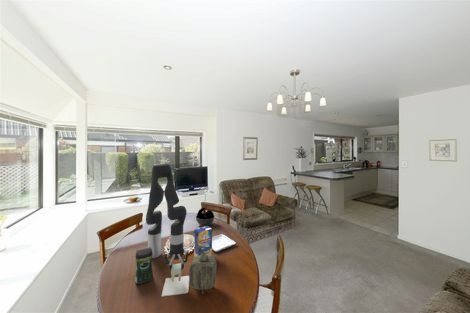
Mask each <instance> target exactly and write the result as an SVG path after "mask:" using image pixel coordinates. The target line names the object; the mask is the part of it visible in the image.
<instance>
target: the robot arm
mask: <svg viewBox="0 0 470 313" xmlns="http://www.w3.org/2000/svg"><path fill="white" fill-rule="evenodd" d="M173 176H174V175H173V172H172V168H171V165H170V164H169V163H155V164H153V166H152V168H151V181H150V191H149V194H148V195H149V196H148V206H147V209H146V210H147V211H146V214H145V224H146V225H148V226H151V225H153V226H151V227H150V228H149V229H148V230H147V248H149V247H151V248H152V252H153V256H152V259H156V258H159V257H160V256H161V255H162V224H163V223H162V222H163V214H162V211H161V210H156V209H157V208H158V207H159V206H160V205H161V204H162V202H163V201H164V198H165V201H166V205H167V206H166V207H167V211H166V212H167V218H168V219H169V220H170V221H174V222H173V223H172V224H171V223H170V236H169V251H168V252H164V261H165V265H168V266H169V267H168V268H169V271H170V272H171V268H172V264H173V261H174V260H179V261H180V263H181V270H182V271H183V270H184V268H185V263H187V262H188V259H189V258H188V257H189V253H190V250H185V249H184V248H185V246H184V244H185V242H184V239H185V238H184V237H185V236H184V224H185V221H186V217H187V209H186V207H185V206H184V205H179V206H175V205H177V204H178V203H179V202H180V199H179V196H178V193H177V190H176V186H175V183H174V177H173ZM161 178H166V181H167V182H166V184H165V187H164V189H163V187H162V186H161V184H160V183H159V179H161ZM183 255H184V256H185V258H184V256H183ZM169 256H170V260H169Z"/></svg>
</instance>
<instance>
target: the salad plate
mask: <svg viewBox="0 0 470 313" xmlns="http://www.w3.org/2000/svg"><path fill="white" fill-rule="evenodd" d="M234 245H236V241H234V240H233V239H231V238H229V237H228V236H226V235H225V234H223V233H221V234H218V235H215V236H212V251H214V253H215V252H216V253H217V252H220V251H222V250H225V249H227V248H230V247H232V246H234Z"/></svg>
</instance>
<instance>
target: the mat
mask: <svg viewBox="0 0 470 313" xmlns="http://www.w3.org/2000/svg"><path fill="white" fill-rule="evenodd" d="M189 287H190V282H189V275H184V276H182V275H181V281H178V276H175V277H174V282H171V277H166V278H165V282H164V284H163V289H162V292H161V297H163V298H164V297H168V296H170V297H171V296H176V295H183V294H189Z"/></svg>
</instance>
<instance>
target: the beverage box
mask: <svg viewBox="0 0 470 313" xmlns="http://www.w3.org/2000/svg"><path fill="white" fill-rule="evenodd" d="M212 237H213V228H212V227H210V225H208V226H201V227H198V228H195V229H194V242H193V243H194V244H193V245H194V250H193V251H194V253H193V254H194V256H193V258H194V257H195V256H199V255H201V254H200V253H203V251H204V253H206V252H209V253H207V254H206V255H210V256H213V254H212V253H213V249H212ZM199 247H208V248H209V249H210V251H209V250H208V249H207V248H200V249H199V250H198V248H199ZM197 250H198V252H200V253H198V252H197Z"/></svg>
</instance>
